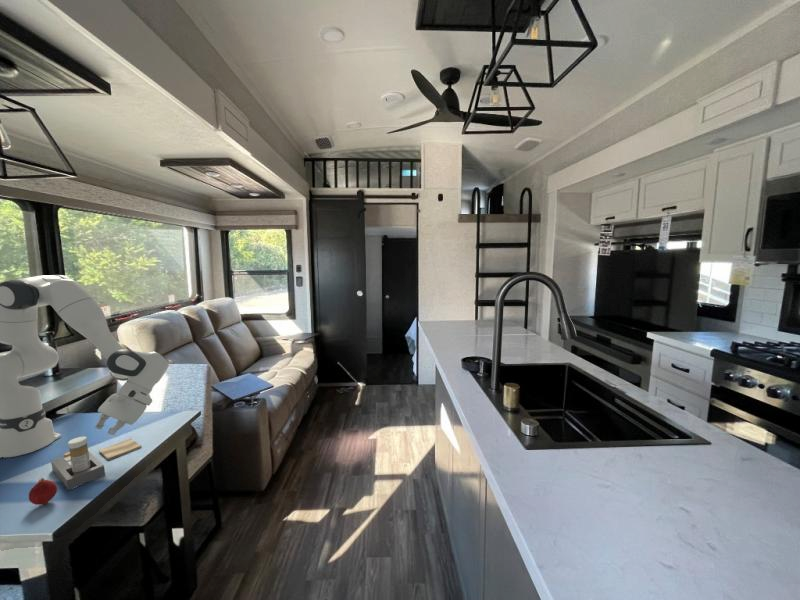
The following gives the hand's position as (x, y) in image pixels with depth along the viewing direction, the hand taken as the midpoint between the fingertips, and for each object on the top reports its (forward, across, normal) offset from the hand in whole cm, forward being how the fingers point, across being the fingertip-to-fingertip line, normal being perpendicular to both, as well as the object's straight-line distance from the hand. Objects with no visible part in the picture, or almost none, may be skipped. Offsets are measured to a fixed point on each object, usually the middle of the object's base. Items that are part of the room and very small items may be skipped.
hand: (103, 431), depth 116 cm
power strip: (+13, -8, +5) cm, 16 cm away
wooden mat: (+4, -9, +14) cm, 17 cm away
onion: (+22, +6, -3) cm, 23 cm away
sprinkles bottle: (+14, 0, +4) cm, 15 cm away
